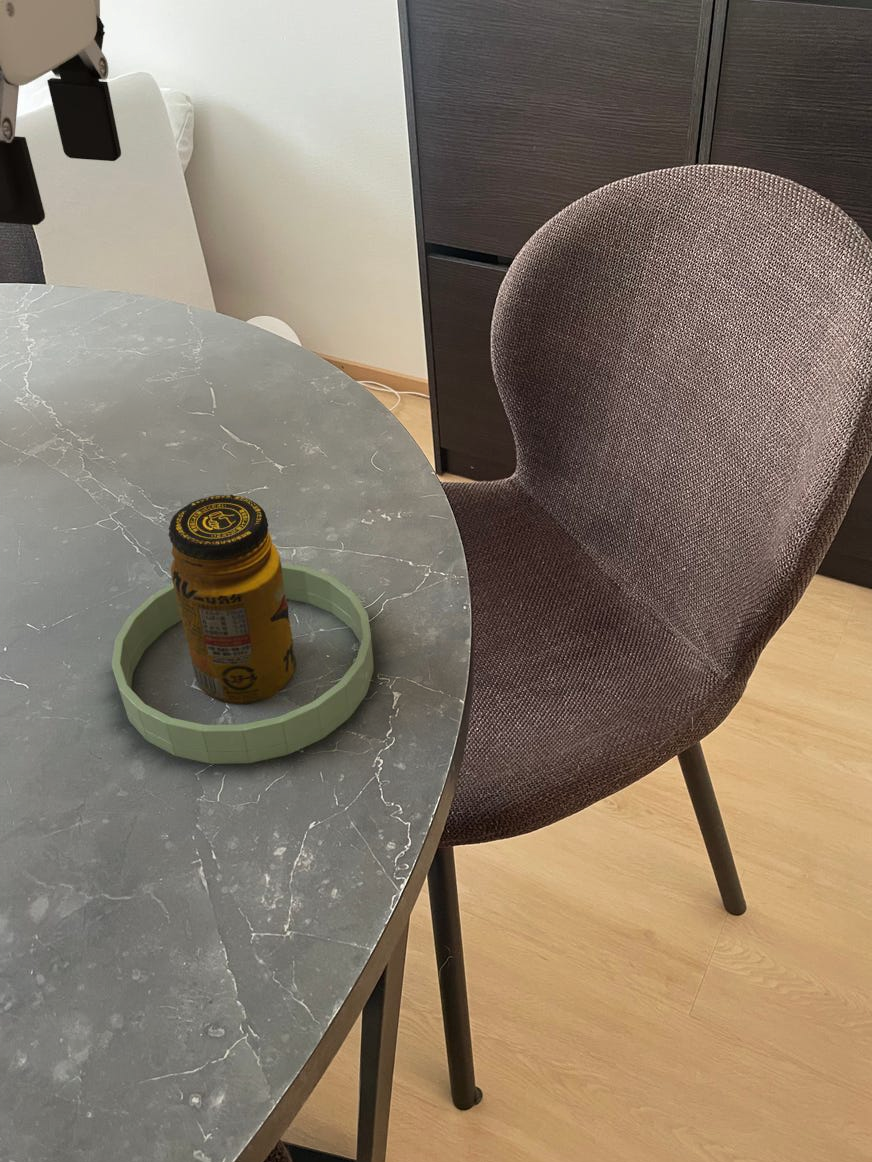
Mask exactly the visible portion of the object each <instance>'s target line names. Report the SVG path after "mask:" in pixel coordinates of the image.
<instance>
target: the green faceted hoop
mask: <svg viewBox="0 0 872 1162" xmlns="http://www.w3.org/2000/svg"><path fill="white" fill-rule="evenodd" d="M281 566H282V575H283V581H284V588H285V593H286V600H290V601H295V602H301V603H305V604H306V603H307V604H310V605H312V606H315V607H316V608H320V609H321V610H323V611H327V612H328V613H331V614H333V615H334V616H335V617H337V618H338V619H339V620H341V622H343V623H344V624H345V625H347V626H348V627H349V628H350V629H351V630H352V631H353V633H354V635H355V637H356V638H357V640H358V642H359V643H360V646H359V649H358V651H357V655H356V658H355V661H354V662H353V663H352V664H351V666H350V667H349V668H348V670H347V671H346V672H345V674H344V675H343V677H341V679H340V680H339V682H338V683H337V682H336V684H335V685H333V686H332V687H331V688H329V689H328V690H326V691H325V692H324V693H323V694H321V695H320V696H319V697H317V698H316V699H314V700H313V701H312V702H309V703H307V704H305V705H303V706H300V707H298V708H296V709H294V710H291V711H289V712H286V713H284V714H282V715H280V716H275V717H271V718H265V719H262V720H256V721H252V722H248V723H243V724H242V723H241V724H240V723H239V724H238V723H237V724H233V723H232V724H203V723H199V722H194V721H189V720H185V719H179V718H176V717H171V716H169V715H168V714H165V713H163V712H161V711H160V710H157V709H156V708H153V707H151V706H150V705H148V704H146V703H145V702H144V701H143V700H142V699H141V698H140V696H138V694H136V693H135V691H133V689H132V685H133V684H132V683H133V675H134V671H135V669H136V668H137V666H138V664H139V662H140V661H141V659H142V656H144V655H143V654H144V653H145V651H146V650H147V649H148V648H149V647H150V646H151V645H152V644H153V643H154V642H155V641H156V640H157V639H158V638H159V637H160V636H161V635H162V634H163V633H164V632H165V631H166V630H168V629H170V628H171V627H173V626H174V625H176V624H177V623H179V622H182V618H181V614H180V610H179V606H178V601H177V597H176V593H175V589H174V585H173V582H172V583H170V584H168V585H167V586H165V587H164V588H162V589H160V590H158V591H157V592H155V593H153V594H152V595H151V596H149V597H148V598H147V599H146V600H145V601H143V603H141V605H139V606H138V607H137V608H136V609H135V610H134V611H133V612H132V613H131V614H130V615H128V617H127V619H126V621H125V622H124V624H123V626H122V627H121V629H120V631H119V632H118V634H117V635H116V638H115V640H114V644H113V653H112V659H111V668H112V671H113V674H114V679H115V682H116V684H117V688H118V690H119V693H120V697H121V701H122V704H123V706H124V710H125V712H126V716H127V719H128V721H129V722H130V723H131V725H132V726H133V727H134V728H135V729H136V730H137V731H138V733H139V734H140V735H141V736H142V737H143V738H144V739H145V741H147V742H148V743H150V744H152V745H154V746H156V747H158V748H160V749H161V750H163V751H166V752H167V753H169V754H171V755H173V756H174V757H175V756H176V757H178V758H183V759H186V760H192V761H196V762H202V763H206V764H211V765H212V764H213V765H214V764H218V765H219V764H221V765H223V764H225V765H226V764H253V763H256V762H261V761H266V760H270V759H275V758H279V757H285V756H287V755H290V754H292V753H295V752H297V751H299V750H302V749H303V748H306V747H308V746H311V745H312V744H315V743H316V742H319V741H321V740H323V739H324V738H326V737H327V736H328V735H330V734H331V733H332V732H333V731H335V730H336V729H337V728H339V727H340V726H341V725H342V724H344V723H345V722H346V721H348V720H349V719H350V718H351V716H352V715H353V714H354V712H355V711H356V710H357V708H358V707H359V706H360V704H361V703H362V701H363V700H364V698H365V697H366V696H367V694H368V691H369V689H370V685H371V681H372V677H373V675H374V670H375V666H374V665H375V664H374V655H373V643H372V642H373V641H372V634H371V626H370V625H371V624H370V617H369V614H368V612H367V611H366V609H365V607H364V606H363V604H362V602H361V601H360V599H359V597H358V596H357V594H356V593H354V592H353V590H351V589H350V588H348V587H347V586H346V585H344V584H343V583H342V582H340V581H339V580H338V579H337V578H335V577H333V576H332V575H331V576H330V575H328V574H326V573H323V572H321V571H318V570H316V569H314V568H311V567H308V566H303V565H298V564H291V563H287V562H281Z"/></svg>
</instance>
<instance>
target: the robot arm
mask: <svg viewBox="0 0 872 1162" xmlns="http://www.w3.org/2000/svg"><path fill="white" fill-rule="evenodd" d="M104 29H105V25H104V23H103V21H102V19H101V0H0V223H1V224H2V223H4V224H16V225H27V226H38V225H40V224H41V223H42V222H43V221H44V220H45V218H46V212H45V209H44V205H43V200H42V197H41V194H40V189H39V185H38V181H37V177H36V174H35V170H34V166H33V162H32V158H31V154H30V149H29V146H28V142H27V138H26V136H17V135H16V125H17V116H18V115H17V114H18V113H17V112H18V103H19V92H20V91H19V90H20V87H21V86H25V85H28V84H29V83H33V81H35V80H37V79H39V78H40V77H41V78H42V77H43V76H44V75H46V74H48V73H50V72H51V73H52V74H53V75H54V76H55V77H56V78H55V77H50V78H49V79H47V80H46V81H47V86H48V90H49V95H50V98H51V103H52V108H53V112H54V115H55V120H56V124H57V125H56V126H57V129H58V133H59V137H60V143H61V146H62V150H63V153H64V154H65V156H66V157H67V158H70V159H76V160H89V161H102V162H103V161H104V162H115V161H117V160H118V159H119V158H120V157H121V155H122V149H121V148H122V147H121V144H120V138H119V134H118V129H117V123H116V118H115V114H114V109H113V104H112V98H111V93H110V89H109V88H110V87H109V83H108V81H106V80H107V78H108V76H109V63H108V60H107V58H106V56H105V54H104V52H103V51H102V50H103V43H104V36H105V34H106V33H105V32H106V31H105V30H104ZM57 77H58V78H57Z"/></svg>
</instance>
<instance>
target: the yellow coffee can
mask: <svg viewBox="0 0 872 1162" xmlns="http://www.w3.org/2000/svg"><path fill="white" fill-rule="evenodd" d="M168 530H169V532H168V537H169V541H170V543H171V544H172V549H171V555H172V556H173V560H172V563H171V567H170V569H171V570H170V577H171V580H172V583H173V585H174V589H175V593H176V597H177V601H178V606H179V610H180V614H181V618H182V620H181V622H182V626H183V632H184V635H185V638H186V643H187V648H188V650H189V651H188V652H189V655H190V660H191V664H192V668H193V672H194V677H195V680H196V682H197V684H198V686H199V687H200V689H201V691H203V692H204V693H205V694H206V695H207V696H209V697H210V698H212V699H214V700H216V701H219V702H222V703H227V704H234V705H235V704H236V705H244V704H250V703H255V702H260V701H263V700H266V699H269V698H272V697H273V696H275V695H276V694H278V692H279V691H280V690H282V689H283V688H285V686H286V685H287V684H288V683H289V682H290V680H291V679H292V677H293V676H294V673H295V671H296V667H297V661H296V660H297V659H296V654H295V649H294V640H293V634H292V627H291V621H290V616H289V615H290V614H289V605H288V603H287V599H286V593H285V588H284V581H283V575H282V566H281V563H282V562H281V557H280V554H279V552H278V550H277V547H276V546H275V544H274V543H273V542H272V536H271V534H270V531H269V523H268V518H267V515H266V512H265V511H264V509H263V507H261V506H260V505H259V504H258V503H256V502H255V501H253V500H250V499H249V498H247V497H241V496H239V495H238V496H237V495H234V494H228V495H227V494H222V495H220V494H217V495H211V496H207V497H204V498H199V499H196V500H195V501H191V502H190V503H188V504H187V505H185V506H183V507H182V508H180V509H179V510H178V511H177V512H176V513H175V514H174V515H173V516H172V518H171V520H170V522H169V527H168Z"/></svg>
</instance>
